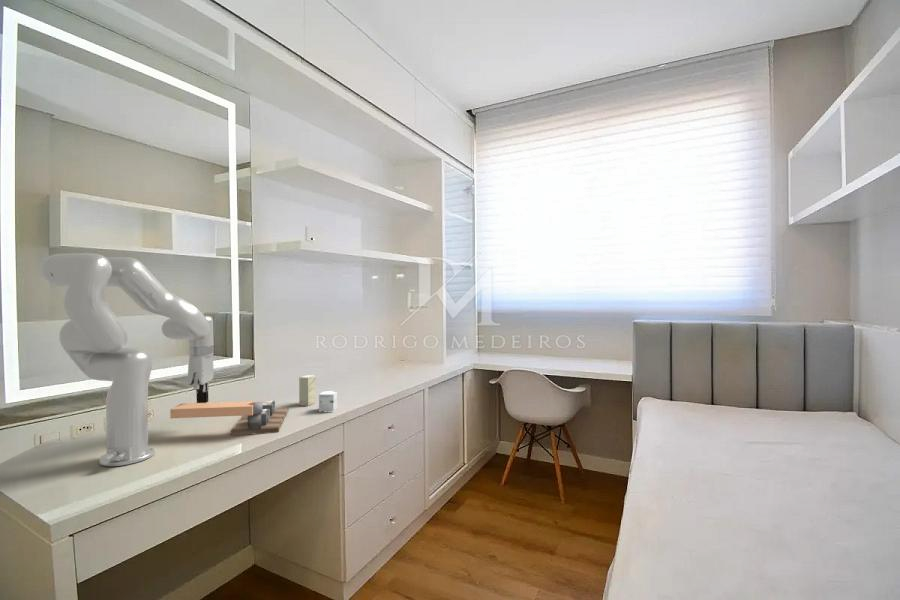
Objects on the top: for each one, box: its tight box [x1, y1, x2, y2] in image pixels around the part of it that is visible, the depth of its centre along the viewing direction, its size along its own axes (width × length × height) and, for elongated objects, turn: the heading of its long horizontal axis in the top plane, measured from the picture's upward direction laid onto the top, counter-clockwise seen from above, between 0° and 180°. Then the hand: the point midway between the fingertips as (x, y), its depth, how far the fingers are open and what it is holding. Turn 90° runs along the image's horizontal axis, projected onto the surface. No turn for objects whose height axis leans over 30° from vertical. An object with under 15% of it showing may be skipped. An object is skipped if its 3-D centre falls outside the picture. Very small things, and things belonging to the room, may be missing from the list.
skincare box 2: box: [318, 390, 338, 413], centre depth 169 cm, size 6×6×7 cm
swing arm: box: [169, 400, 263, 419], centre depth 139 cm, size 27×7×3 cm, turn 99°
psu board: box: [230, 400, 289, 436], centre depth 152 cm, size 27×15×7 cm, turn 14°
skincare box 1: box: [298, 374, 316, 407], centre depth 179 cm, size 6×4×12 cm
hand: (202, 402), depth 146 cm, fingers closed
